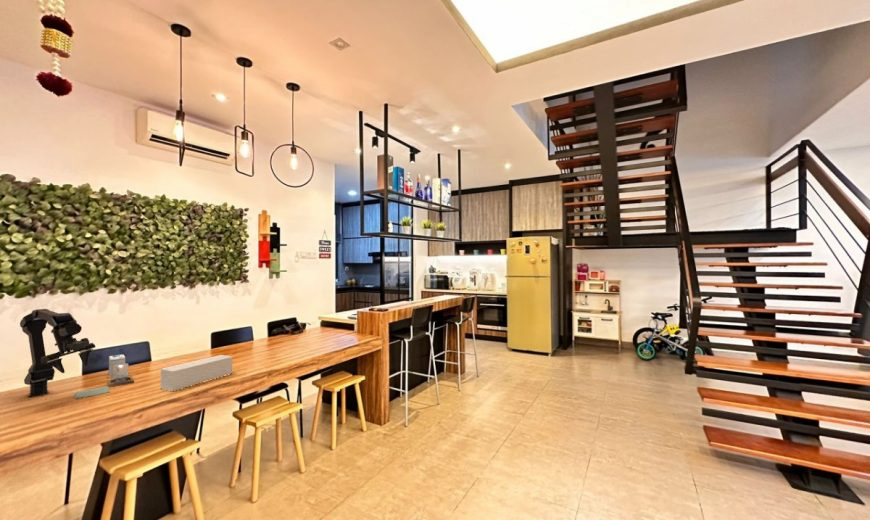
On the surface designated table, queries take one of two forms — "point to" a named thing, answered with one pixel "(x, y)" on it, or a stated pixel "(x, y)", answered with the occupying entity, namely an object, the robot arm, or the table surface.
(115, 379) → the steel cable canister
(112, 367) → the grey boxy fixture
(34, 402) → the table surface
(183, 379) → the long grey concrete block
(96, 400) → the table surface
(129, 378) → the walnut collar
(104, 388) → the mat
